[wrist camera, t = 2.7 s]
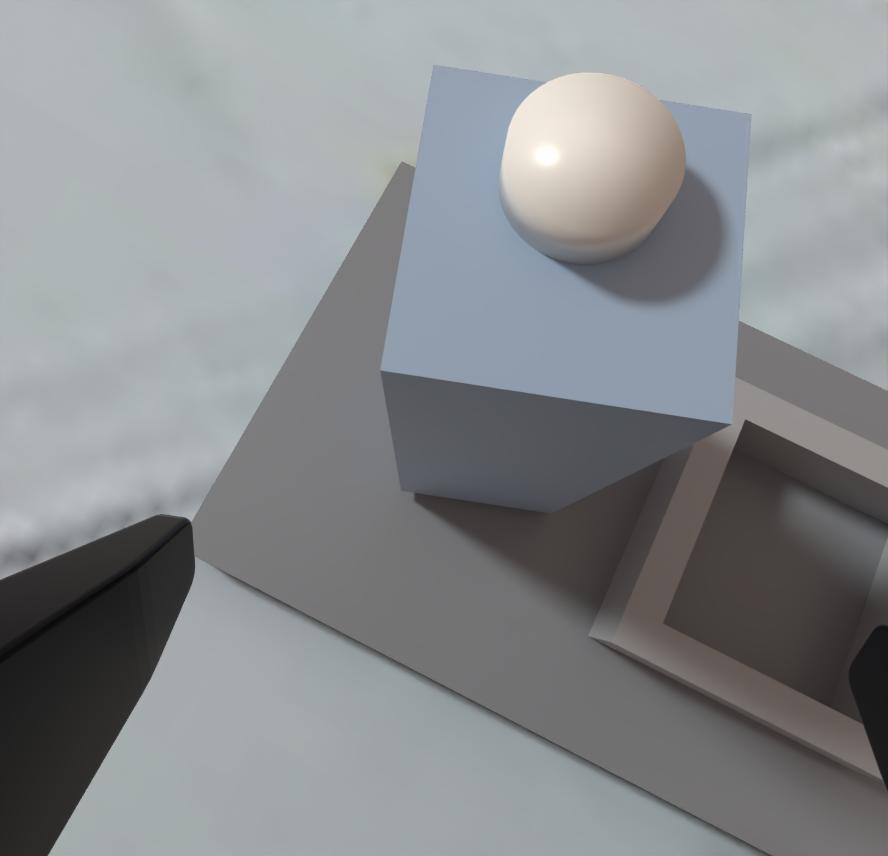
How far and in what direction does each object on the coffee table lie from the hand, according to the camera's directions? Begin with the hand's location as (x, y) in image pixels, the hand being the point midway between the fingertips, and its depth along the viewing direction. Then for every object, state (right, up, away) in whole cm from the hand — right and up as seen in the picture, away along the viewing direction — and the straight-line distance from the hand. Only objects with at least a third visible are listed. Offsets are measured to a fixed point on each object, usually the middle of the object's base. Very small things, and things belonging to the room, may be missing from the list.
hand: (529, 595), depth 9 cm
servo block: (0, +2, +12) cm, 12 cm away
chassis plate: (+4, 0, +13) cm, 14 cm away
